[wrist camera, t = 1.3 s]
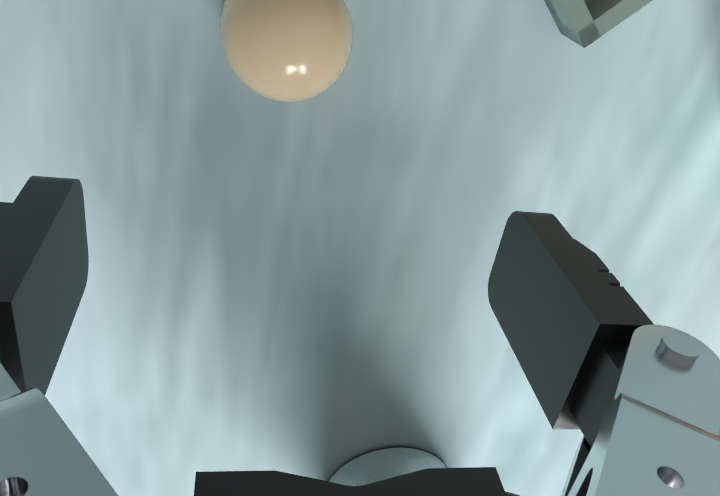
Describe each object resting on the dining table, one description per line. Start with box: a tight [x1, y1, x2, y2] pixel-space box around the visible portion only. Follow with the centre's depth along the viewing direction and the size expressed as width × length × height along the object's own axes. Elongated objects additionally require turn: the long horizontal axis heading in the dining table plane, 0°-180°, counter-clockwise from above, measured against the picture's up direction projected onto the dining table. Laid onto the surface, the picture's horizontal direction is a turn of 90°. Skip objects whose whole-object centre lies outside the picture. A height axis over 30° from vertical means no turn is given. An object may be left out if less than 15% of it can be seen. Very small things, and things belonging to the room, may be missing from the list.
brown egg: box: [221, 0, 353, 102], centre depth 25 cm, size 5×5×6 cm
